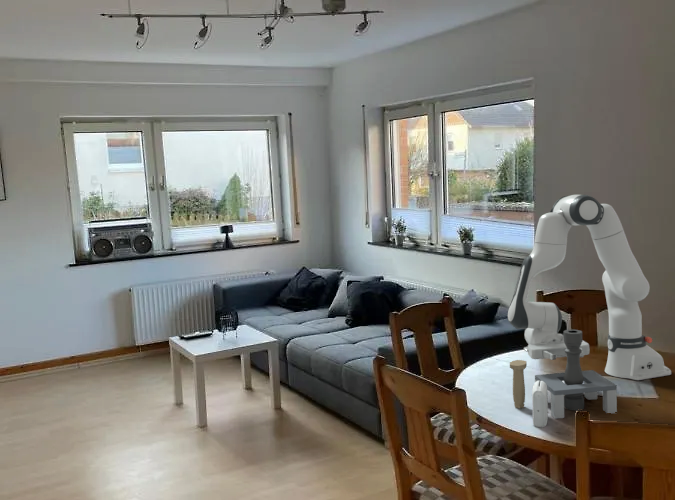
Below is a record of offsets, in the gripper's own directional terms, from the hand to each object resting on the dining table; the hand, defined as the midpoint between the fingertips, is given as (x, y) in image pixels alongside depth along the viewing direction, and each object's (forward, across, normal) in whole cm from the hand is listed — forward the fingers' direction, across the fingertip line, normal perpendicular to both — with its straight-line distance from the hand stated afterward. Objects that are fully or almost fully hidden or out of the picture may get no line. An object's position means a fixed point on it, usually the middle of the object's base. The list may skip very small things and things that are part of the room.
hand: (567, 356), depth 220 cm
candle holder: (+5, 0, +16) cm, 16 cm away
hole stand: (+5, 0, +16) cm, 16 cm away
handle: (+1, -17, +16) cm, 23 cm away
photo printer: (+14, -15, +16) cm, 26 cm away
